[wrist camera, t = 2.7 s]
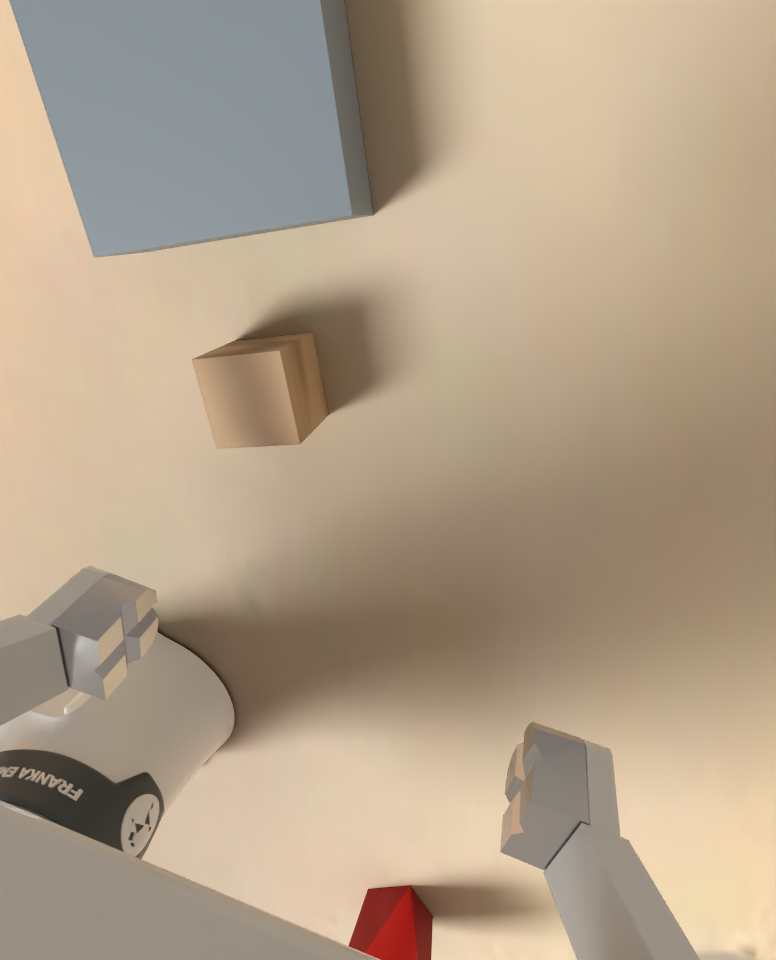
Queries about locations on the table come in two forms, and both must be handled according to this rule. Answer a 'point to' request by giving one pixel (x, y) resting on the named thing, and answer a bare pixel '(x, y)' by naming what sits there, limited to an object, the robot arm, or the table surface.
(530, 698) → the table surface
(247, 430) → the walnut cube
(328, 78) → the slate plinth
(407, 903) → the french fries
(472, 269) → the table surface
